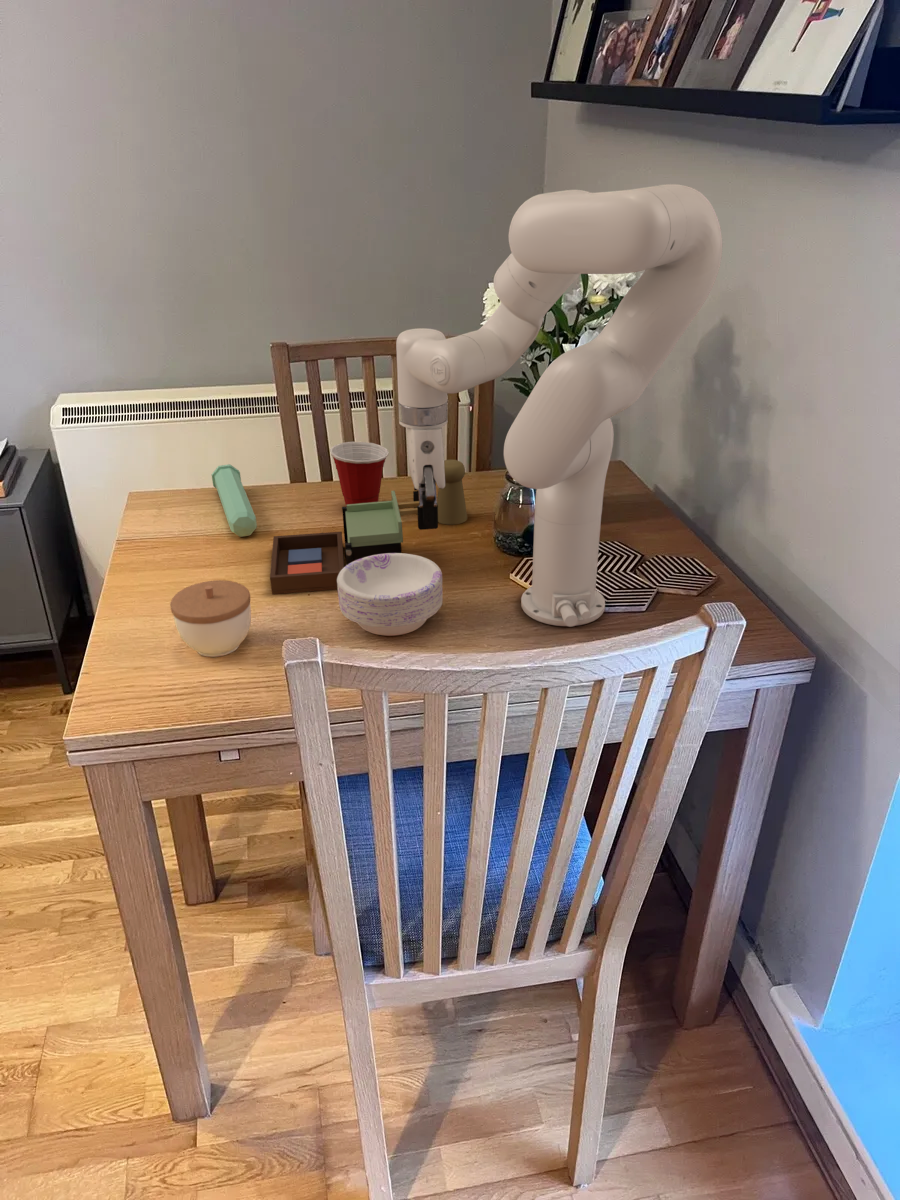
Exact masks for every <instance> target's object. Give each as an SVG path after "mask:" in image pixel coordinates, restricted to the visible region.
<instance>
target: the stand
mask: <svg viewBox="0 0 900 1200" xmlns="http://www.w3.org/2000/svg"><path fill="white" fill-rule="evenodd" d="M345 511H347V507H346V506H341V513H342V523H343V524H342V526H343V536H344V537H343V538H344V548H345V562H346V565H348V564H349V563H351V562H353V561H355V560H358V559H361V558H364V557H367V556H372V555H377V554H385V553H402V543H392V544H381V545H370V546H359V547H352V544H351V543H348V537H347V525H346V514H345Z"/></svg>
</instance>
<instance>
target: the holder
mask: <svg viewBox="0 0 900 1200" xmlns="http://www.w3.org/2000/svg"><path fill="white" fill-rule="evenodd" d="M272 540H273V541H272V549H271V550H272V551H271V561H270V562H271V563H270V571H269V572H270V573H269V581H270V589H271V595H281V594H295V593H296V594H297V593H309V592H320V591H333V590H334V591H335V590H338V588H337V586H338V585H337V577H338V574H339V573H340V571H341V570H342V569H343V568H344V567H345V556H344V544H343V533H342V531H331V532H315V533H301V534H287V535H274V536H273V539H272ZM311 548H321V550H322V572H310V573H297V574H288V555H289V550H298V549H311Z"/></svg>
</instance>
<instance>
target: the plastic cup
mask: <svg viewBox="0 0 900 1200" xmlns="http://www.w3.org/2000/svg"><path fill="white" fill-rule="evenodd" d="M329 451H330V456H331V457H332V459H333V461H334V465H335V470H336V472H337V477H338V480H339V485H340V489H341V493H342V496H343V499H344V500H343V501H344V504H345V507H347V506H346V505H348V504H359V503H371V502H379V499H380V498H379V497H380V492H381V486H382V478H383V470H384V467H385V464H386V463H385V462H386V459H387V457H388V456H389V454H390V453H389V449H387V448H386V447H384V446H383V445H380V444H377V443H374V442H368V441H346V442H341V443H338V444H334V445H333V446H332V447H330V449H329Z"/></svg>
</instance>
